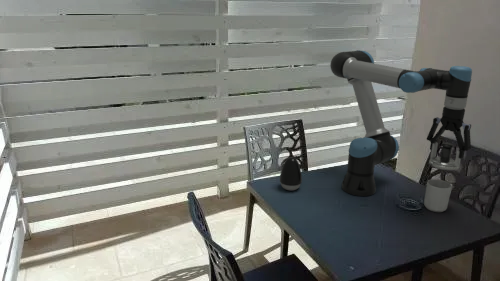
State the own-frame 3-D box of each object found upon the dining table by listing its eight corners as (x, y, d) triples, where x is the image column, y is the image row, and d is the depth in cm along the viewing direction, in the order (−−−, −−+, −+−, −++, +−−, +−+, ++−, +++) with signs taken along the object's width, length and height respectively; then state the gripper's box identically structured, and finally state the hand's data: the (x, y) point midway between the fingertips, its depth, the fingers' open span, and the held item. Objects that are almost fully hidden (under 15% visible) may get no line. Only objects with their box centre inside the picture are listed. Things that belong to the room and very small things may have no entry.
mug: (436, 215, 153) (441, 190, 150) (418, 205, 161) (422, 181, 157) (456, 208, 158) (461, 184, 155) (438, 199, 166) (442, 176, 162)
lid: (423, 164, 155) (427, 143, 152) (437, 158, 161) (441, 138, 158) (450, 172, 146) (454, 150, 144) (464, 166, 153) (468, 145, 150)
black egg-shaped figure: (305, 186, 177) (307, 156, 173) (295, 195, 169) (297, 163, 164) (285, 181, 183) (287, 151, 178) (275, 189, 174) (276, 158, 169)
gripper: (422, 103, 152) (414, 155, 159) (479, 114, 136) (468, 172, 143) (432, 100, 157) (424, 152, 164) (489, 111, 140) (477, 168, 147)
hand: (444, 161), depth 153 cm, fingers closed on lid, 9 cm apart
